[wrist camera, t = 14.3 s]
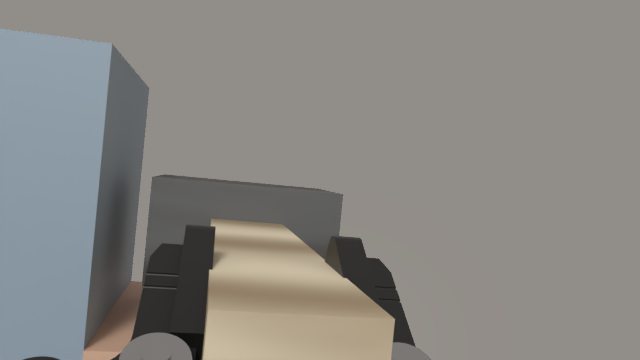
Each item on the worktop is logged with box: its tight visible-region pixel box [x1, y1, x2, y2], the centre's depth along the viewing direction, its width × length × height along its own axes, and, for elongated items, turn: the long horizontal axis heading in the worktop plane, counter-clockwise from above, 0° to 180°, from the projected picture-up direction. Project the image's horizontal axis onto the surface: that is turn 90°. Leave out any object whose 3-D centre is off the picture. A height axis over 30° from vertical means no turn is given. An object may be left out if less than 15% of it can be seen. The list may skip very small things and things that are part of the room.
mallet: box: [142, 175, 395, 360], centre depth 19 cm, size 21×8×4 cm, turn 11°
